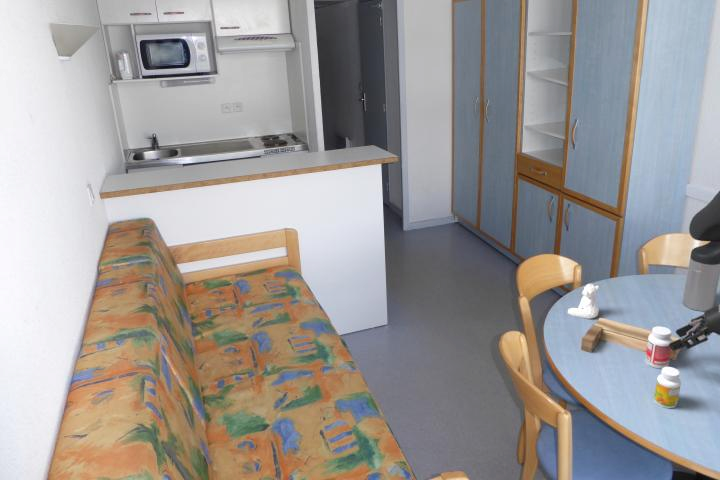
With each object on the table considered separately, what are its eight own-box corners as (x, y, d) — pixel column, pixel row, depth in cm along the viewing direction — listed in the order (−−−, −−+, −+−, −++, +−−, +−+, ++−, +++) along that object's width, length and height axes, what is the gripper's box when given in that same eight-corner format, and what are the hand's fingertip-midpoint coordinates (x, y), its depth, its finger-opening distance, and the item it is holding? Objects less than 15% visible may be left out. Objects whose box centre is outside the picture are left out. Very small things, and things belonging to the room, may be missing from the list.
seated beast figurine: (583, 305, 194) (586, 275, 190) (605, 315, 188) (609, 283, 183) (566, 314, 190) (569, 282, 185) (588, 324, 183) (591, 291, 178)
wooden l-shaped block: (599, 325, 181) (600, 314, 180) (681, 347, 167) (683, 336, 165) (580, 349, 169) (582, 338, 167) (667, 376, 154) (669, 364, 153)
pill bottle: (672, 364, 160) (678, 331, 156) (661, 371, 156) (666, 338, 152) (652, 354, 164) (657, 322, 160) (640, 362, 161) (645, 329, 157)
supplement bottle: (649, 396, 147) (654, 366, 143) (668, 394, 147) (674, 364, 144) (661, 409, 142) (666, 378, 138) (681, 407, 142) (687, 376, 138)
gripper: (724, 293, 150) (670, 319, 161) (715, 315, 140) (659, 341, 151) (743, 316, 148) (688, 340, 160) (736, 339, 138) (678, 363, 149)
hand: (674, 340), depth 155 cm, fingers open, 8 cm apart
